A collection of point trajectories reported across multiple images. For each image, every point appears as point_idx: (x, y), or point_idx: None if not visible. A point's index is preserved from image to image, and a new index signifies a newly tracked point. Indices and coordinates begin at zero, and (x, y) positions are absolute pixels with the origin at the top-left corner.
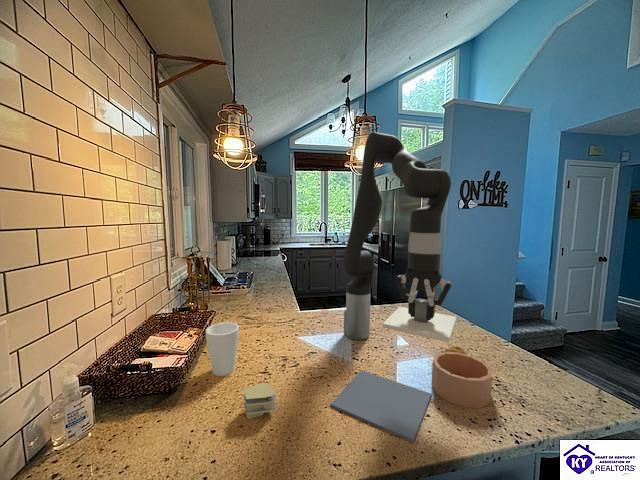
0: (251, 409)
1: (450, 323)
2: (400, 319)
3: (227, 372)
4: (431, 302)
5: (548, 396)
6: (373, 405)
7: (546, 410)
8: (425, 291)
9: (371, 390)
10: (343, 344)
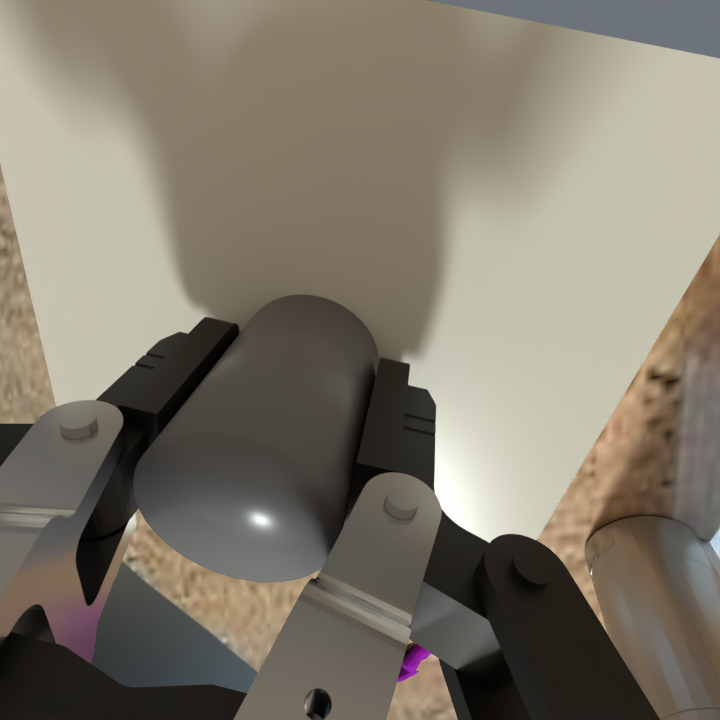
0: None
1: (70, 354)
2: (521, 312)
3: None
4: (62, 439)
5: (10, 332)
6: (598, 3)
7: (5, 258)
8: (45, 652)
9: None
10: (716, 474)
